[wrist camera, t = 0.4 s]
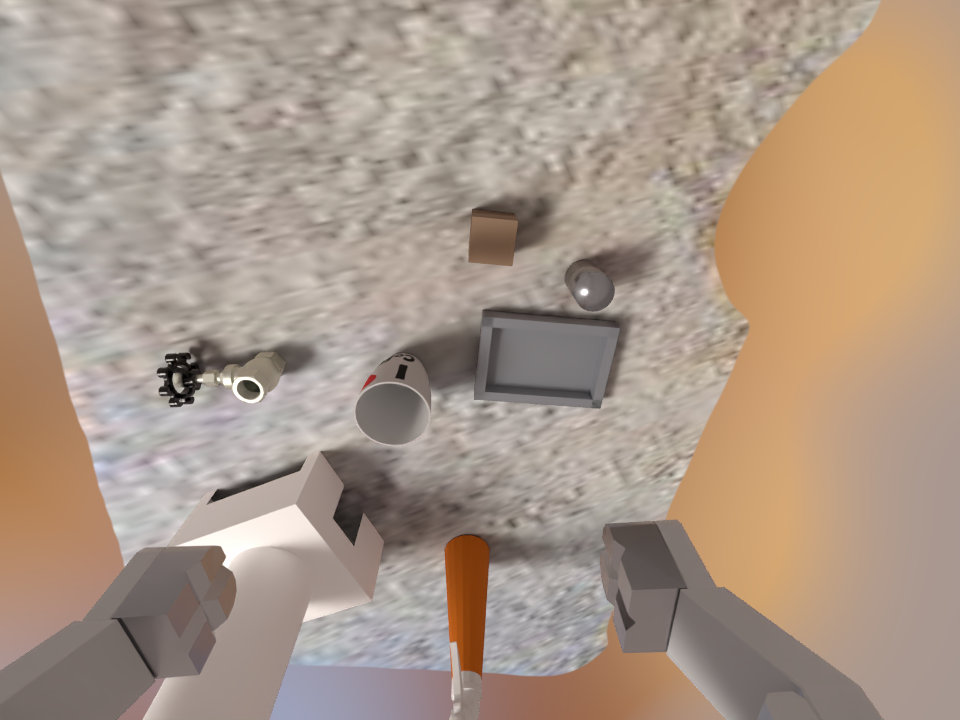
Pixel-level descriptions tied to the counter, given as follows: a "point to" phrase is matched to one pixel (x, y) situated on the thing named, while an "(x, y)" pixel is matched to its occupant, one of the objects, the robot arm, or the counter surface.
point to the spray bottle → (466, 620)
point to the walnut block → (492, 237)
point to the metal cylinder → (589, 285)
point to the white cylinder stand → (270, 588)
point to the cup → (395, 402)
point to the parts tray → (544, 359)
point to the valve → (221, 378)
